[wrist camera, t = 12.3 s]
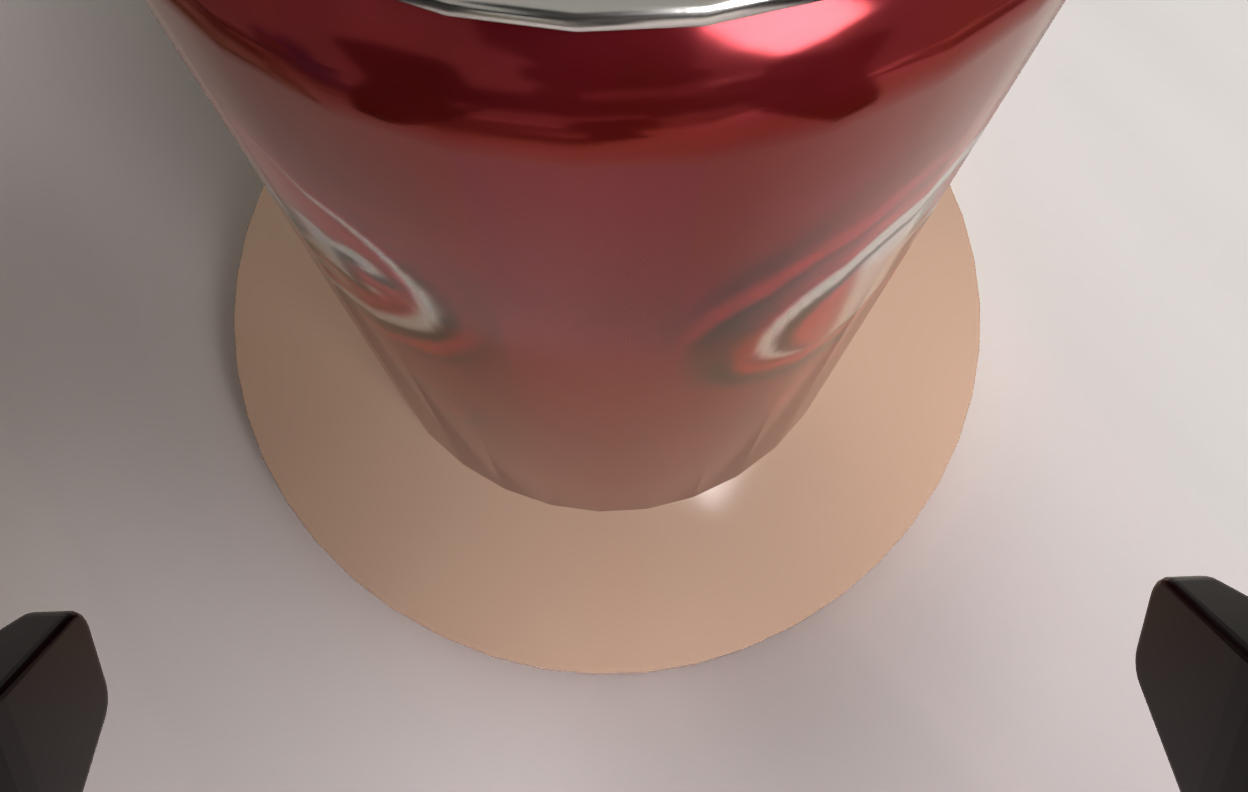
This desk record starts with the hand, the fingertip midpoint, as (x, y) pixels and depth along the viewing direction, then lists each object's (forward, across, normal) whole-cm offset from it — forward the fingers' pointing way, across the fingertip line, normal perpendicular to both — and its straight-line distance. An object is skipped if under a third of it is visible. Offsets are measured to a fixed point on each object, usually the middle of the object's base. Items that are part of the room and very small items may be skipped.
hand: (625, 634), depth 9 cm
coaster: (+10, 0, +1) cm, 10 cm away
